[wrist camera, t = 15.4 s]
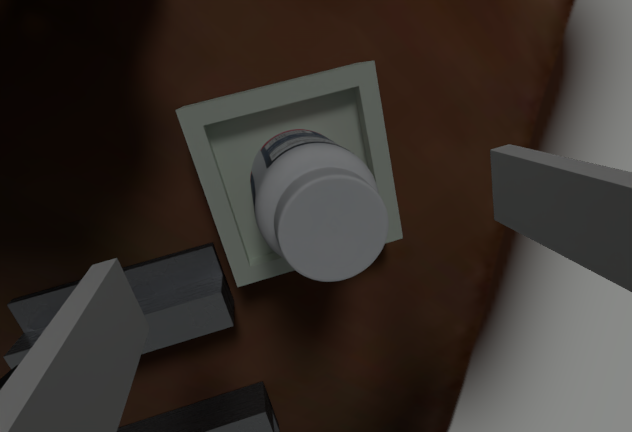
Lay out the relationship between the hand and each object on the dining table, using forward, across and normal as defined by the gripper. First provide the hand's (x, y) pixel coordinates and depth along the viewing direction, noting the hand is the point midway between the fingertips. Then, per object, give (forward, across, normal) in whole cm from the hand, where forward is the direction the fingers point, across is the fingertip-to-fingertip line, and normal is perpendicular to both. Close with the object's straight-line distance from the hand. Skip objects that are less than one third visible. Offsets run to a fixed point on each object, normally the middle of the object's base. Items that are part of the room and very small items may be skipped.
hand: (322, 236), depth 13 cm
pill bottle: (+9, +1, 0) cm, 9 cm away
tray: (+11, +1, 0) cm, 11 cm away
